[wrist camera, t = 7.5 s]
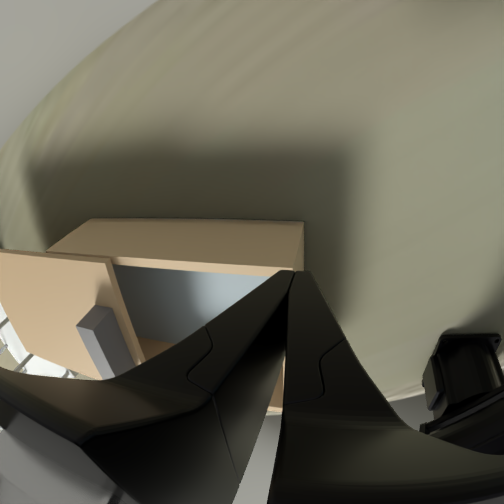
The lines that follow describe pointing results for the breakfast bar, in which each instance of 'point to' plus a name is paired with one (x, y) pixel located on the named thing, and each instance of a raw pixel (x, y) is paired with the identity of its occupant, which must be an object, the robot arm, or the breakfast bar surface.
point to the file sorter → (28, 354)
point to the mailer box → (187, 269)
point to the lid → (69, 311)
